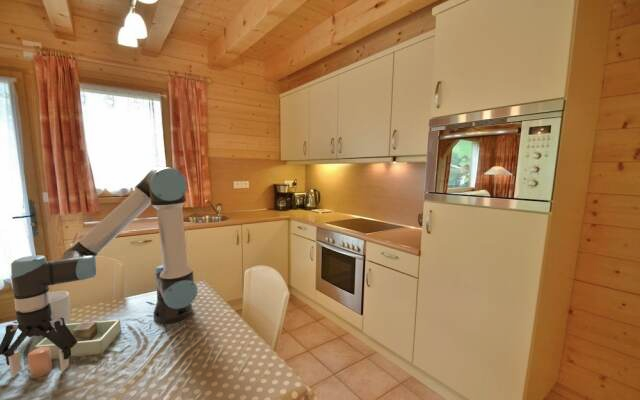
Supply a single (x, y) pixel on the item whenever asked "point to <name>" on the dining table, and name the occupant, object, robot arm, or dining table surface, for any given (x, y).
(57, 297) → the mug
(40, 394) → the dining table surface
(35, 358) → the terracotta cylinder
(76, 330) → the walnut cube
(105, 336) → the tray
